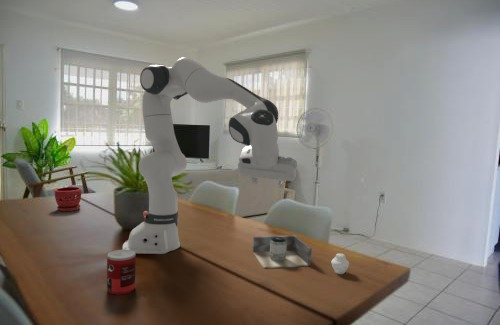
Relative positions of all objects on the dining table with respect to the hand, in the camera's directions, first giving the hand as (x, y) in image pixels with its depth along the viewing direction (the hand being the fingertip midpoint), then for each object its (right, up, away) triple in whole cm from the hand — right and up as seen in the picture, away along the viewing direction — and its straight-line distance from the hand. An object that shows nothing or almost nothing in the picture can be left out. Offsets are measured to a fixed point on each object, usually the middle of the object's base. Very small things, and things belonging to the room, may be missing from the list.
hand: (268, 184), depth 125 cm
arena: (+5, -29, +9) cm, 31 cm away
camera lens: (+4, -29, +7) cm, 30 cm away
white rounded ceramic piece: (+25, -31, -1) cm, 40 cm away
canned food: (-45, -30, -21) cm, 58 cm away
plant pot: (-108, -19, +69) cm, 130 cm away
